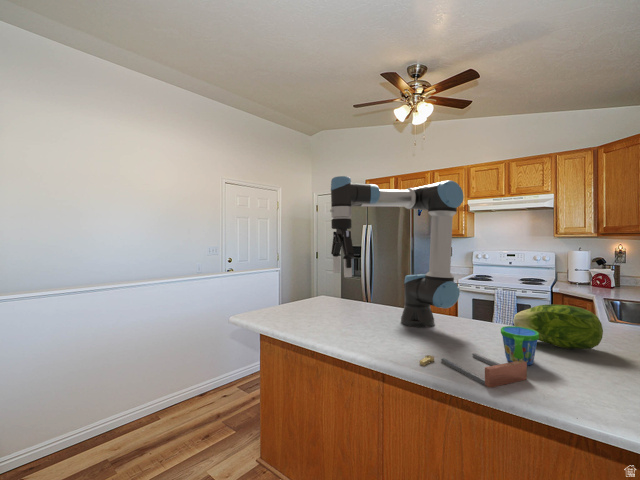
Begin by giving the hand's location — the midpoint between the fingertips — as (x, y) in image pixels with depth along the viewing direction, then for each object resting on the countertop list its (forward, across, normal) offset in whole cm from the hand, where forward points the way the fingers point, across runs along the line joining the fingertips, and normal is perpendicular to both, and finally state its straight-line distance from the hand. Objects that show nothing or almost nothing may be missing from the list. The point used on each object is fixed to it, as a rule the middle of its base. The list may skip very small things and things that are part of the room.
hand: (342, 275), depth 118 cm
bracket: (+27, +31, +34) cm, 53 cm away
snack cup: (+27, +29, +51) cm, 65 cm away
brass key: (+27, +22, +21) cm, 41 cm away
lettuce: (+28, +21, +76) cm, 83 cm away
